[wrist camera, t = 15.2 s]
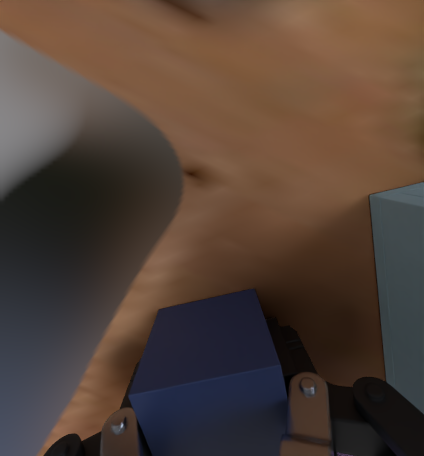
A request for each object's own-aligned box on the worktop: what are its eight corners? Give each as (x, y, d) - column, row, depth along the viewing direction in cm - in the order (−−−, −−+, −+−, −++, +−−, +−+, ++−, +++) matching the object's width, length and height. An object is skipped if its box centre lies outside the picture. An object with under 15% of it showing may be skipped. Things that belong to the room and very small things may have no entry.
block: (158, 309, 13) (126, 396, 8) (254, 287, 13) (280, 365, 8) (184, 386, 14) (170, 501, 9) (272, 368, 14) (305, 477, 9)
